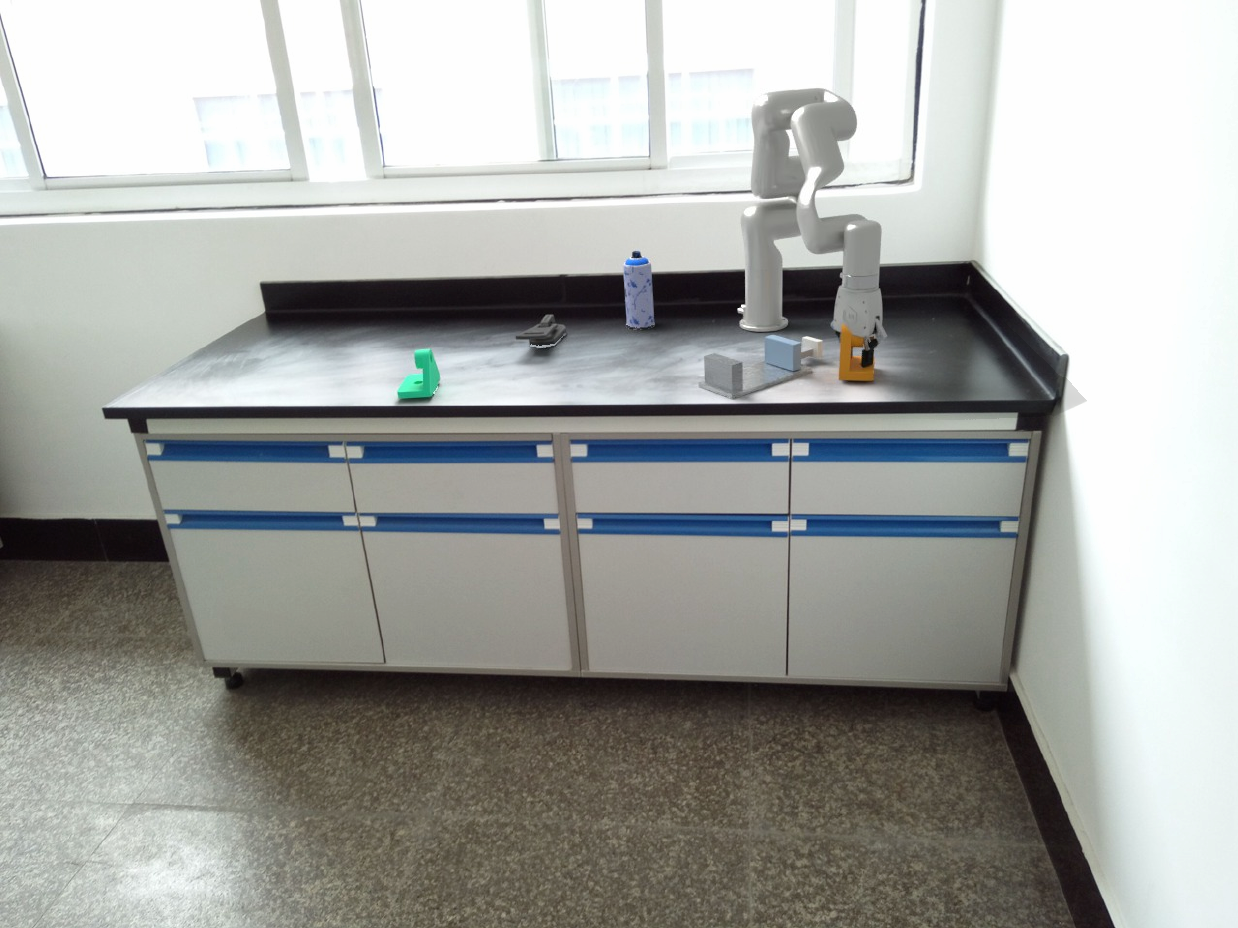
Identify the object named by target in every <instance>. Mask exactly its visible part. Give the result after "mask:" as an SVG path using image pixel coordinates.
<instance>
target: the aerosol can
mask: <svg viewBox="0 0 1238 928" xmlns="http://www.w3.org/2000/svg"><path fill="white" fill-rule="evenodd" d="M622 267H623V268H622V270H623V282H624V298H625V299H624V302H625V315H626V324H625V326H626V325H628V326H630V327H635V328H636V327H637V328H640V327H648V326H651V325H654V326H655V325H656V323H655V318H654V317H655V316H654V315H655V314H654V313H655V312H654V296H653V295H654V294H653V277H652V275H653V274H652V264H651V261H650V260H649V259H648V258H646V257H645V256H643V255H642V253H641V251H639V250H634V251H633V250H632V252H631V256H630V257H628V258H627V259H626V260H625V261H624V263H623V266H622Z"/></svg>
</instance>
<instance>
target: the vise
mask: <svg viewBox="0 0 1238 928" xmlns="http://www.w3.org/2000/svg"><path fill="white" fill-rule="evenodd" d="M703 359H704V360H703V367H704V380H701V381H699V382H698V388H701V387H702V389H704V390H706V391H709V390H710V392H712V393H715V394H717V393H718V395H720V394H721V396H723V395H724V397H725V396H727V397H726V398H728V397H730V398H734V399H736V398H735V397H737V398H739V397H742V396H745V395H748V394H751V393H753V392H757V391H761V390H763V389H766V388H769V387H771V386H774V385H777V384H780V383H783V382H786V381H789V380H793V379H795V378H798V377H801V376H804V375H806V374H810V373H812V372H813V367H811V366H807V365H804V364H802V363H801V369H798V370H795V371H791V370H788V369H784V368H781V367H778V366H775V365H772V364H769V363H766V362H765V360H764V361H760V362H757V363H754V364H751V365H748V366H746V367H743V366H744V365H743V361H740V360H737V359H734V358H731V357H729V356H725V355H722V354H718V353H716V352H713V353H711V354H706V355H703ZM730 398H729V399H730Z"/></svg>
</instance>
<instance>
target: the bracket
mask: <svg viewBox="0 0 1238 928" xmlns="http://www.w3.org/2000/svg"><path fill="white" fill-rule="evenodd" d="M839 344H840V347H839V363H838V364H839V365H838V381H861V382H862V381H865V382H866V381H867V382H870V381H874V379H875V376H874V375H875V363H876V362H875V361H876V360H875V359H876V358H875V356H874V360H873V365H871V366H868V367H865V368H863V367H862V366H861V358H862V355H852V359H851V350H852V347H853V348H863V349H864V344H863V338H861V337H857V336H854V335H852V333H851V331H850V330H849V329H848V328H847V327H846V326H845V325H843V324H842V327H841V343H839Z"/></svg>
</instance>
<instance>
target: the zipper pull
mask: <svg viewBox="0 0 1238 928" xmlns="http://www.w3.org/2000/svg"><path fill="white" fill-rule="evenodd" d="M564 333H566V334H567V327H566V326H565V324H559V323H556V320H555V315H554V314H545V316H543V317H542V319H541V321H540V323H537V324H536V325H534V326H532V327H530V328H528V329H527V330H524V331H523V332H520V333H518V334H516V335H515V337H514V338H515V340H519V341H521V340H522V341H523V340H528V343H529V346H530V345H531V344H532V345H536V346H538V345H539V346H542V345H550V344H555V343H556V342H557V341H558V340H559V339H560V338H561V337H562V336H563V334H564Z"/></svg>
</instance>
